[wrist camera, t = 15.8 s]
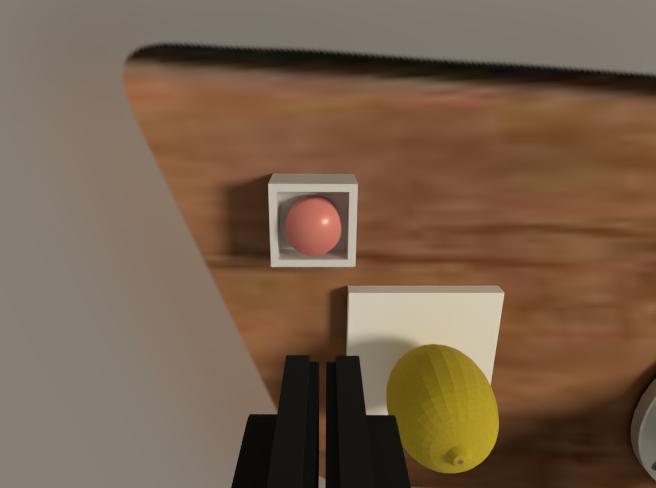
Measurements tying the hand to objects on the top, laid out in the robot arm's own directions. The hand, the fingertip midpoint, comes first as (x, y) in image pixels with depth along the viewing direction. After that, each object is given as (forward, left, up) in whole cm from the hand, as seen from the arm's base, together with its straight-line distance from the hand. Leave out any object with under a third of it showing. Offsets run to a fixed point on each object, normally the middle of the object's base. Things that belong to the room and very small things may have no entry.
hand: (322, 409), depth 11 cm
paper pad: (0, +11, -16) cm, 19 cm away
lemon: (0, +11, -15) cm, 19 cm away
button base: (0, 0, -16) cm, 16 cm away
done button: (0, 0, -15) cm, 15 cm away
